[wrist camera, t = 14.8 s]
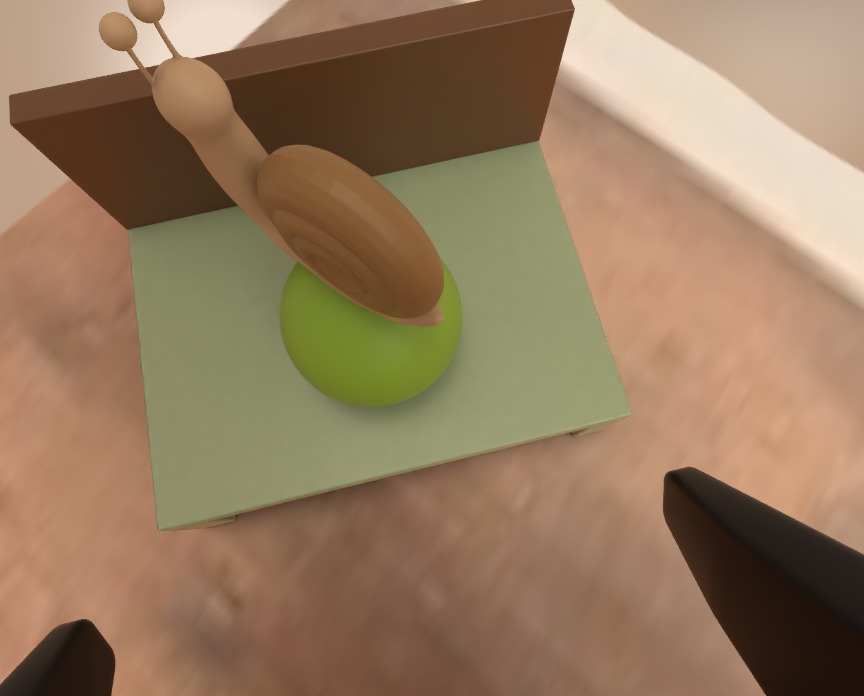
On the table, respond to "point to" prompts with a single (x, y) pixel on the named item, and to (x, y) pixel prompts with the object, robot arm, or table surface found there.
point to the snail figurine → (319, 240)
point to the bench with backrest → (270, 267)
